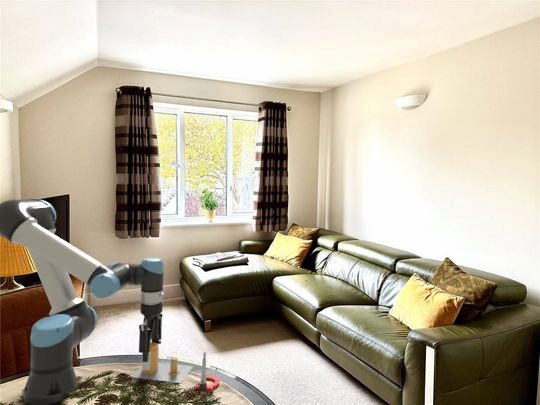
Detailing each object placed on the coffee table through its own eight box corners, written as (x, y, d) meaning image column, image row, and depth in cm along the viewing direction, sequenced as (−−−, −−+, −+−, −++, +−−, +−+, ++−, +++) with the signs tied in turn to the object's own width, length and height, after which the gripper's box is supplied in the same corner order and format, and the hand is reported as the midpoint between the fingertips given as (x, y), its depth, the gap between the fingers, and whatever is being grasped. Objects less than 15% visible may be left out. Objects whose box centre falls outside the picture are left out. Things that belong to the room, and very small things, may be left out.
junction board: (130, 381, 127) (131, 362, 127) (147, 365, 139) (147, 348, 138) (180, 387, 124) (181, 368, 124) (193, 370, 136) (193, 353, 136)
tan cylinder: (139, 372, 130) (140, 347, 130) (146, 365, 135) (147, 341, 135) (153, 374, 129) (154, 349, 129) (159, 367, 134) (160, 343, 134)
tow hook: (199, 377, 132) (189, 390, 123) (201, 341, 132) (191, 351, 123) (222, 380, 130) (214, 393, 121) (223, 344, 131) (216, 354, 121)
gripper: (149, 310, 122) (147, 379, 122) (172, 295, 140) (170, 355, 140) (128, 308, 123) (126, 377, 124) (153, 294, 141) (151, 353, 142)
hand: (150, 365), depth 132 cm, fingers closed on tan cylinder, 5 cm apart
